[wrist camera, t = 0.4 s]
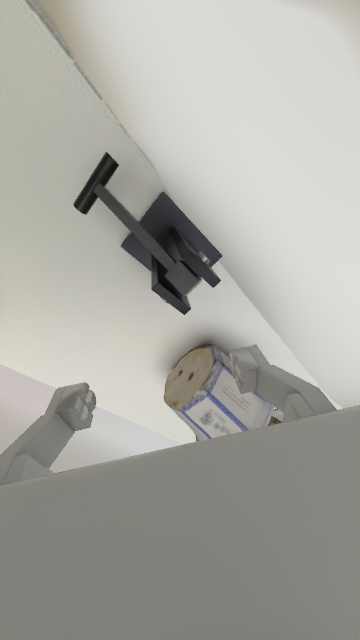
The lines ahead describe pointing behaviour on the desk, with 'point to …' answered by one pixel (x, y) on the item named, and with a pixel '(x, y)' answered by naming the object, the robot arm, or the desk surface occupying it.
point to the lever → (134, 225)
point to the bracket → (173, 249)
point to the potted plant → (213, 396)
